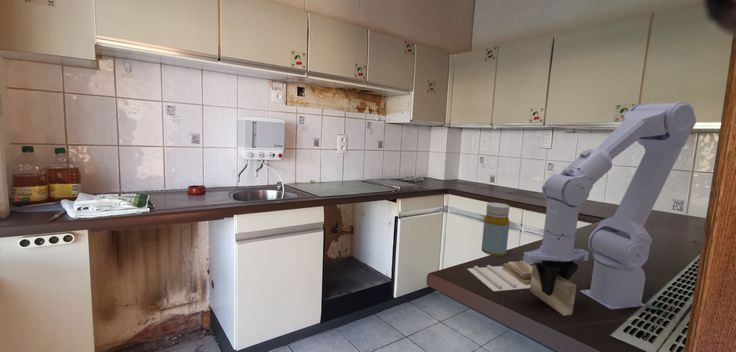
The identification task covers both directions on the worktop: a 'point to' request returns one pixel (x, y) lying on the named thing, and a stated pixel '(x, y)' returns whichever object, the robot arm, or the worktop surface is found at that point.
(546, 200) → the robot arm
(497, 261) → the worktop surface
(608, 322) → the worktop surface
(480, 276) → the board
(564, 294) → the birch panel
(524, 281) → the offcut stack
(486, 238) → the bottle
